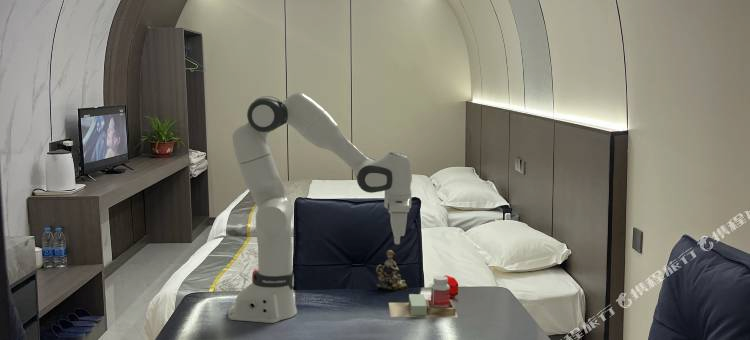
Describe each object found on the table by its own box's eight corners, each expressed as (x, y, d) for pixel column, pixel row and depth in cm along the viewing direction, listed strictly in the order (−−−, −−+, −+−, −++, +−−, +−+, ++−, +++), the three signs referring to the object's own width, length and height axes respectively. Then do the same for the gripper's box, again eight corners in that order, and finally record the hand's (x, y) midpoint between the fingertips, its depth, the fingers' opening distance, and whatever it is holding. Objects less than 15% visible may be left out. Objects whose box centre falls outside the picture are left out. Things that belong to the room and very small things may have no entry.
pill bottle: (452, 310, 225) (453, 278, 224) (438, 314, 222) (439, 281, 220) (441, 305, 230) (441, 274, 229) (426, 308, 227) (427, 276, 225)
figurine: (373, 293, 247) (373, 253, 245) (379, 284, 257) (380, 246, 255) (404, 295, 244) (405, 255, 242) (410, 287, 254) (410, 248, 252)
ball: (446, 303, 236) (447, 282, 235) (430, 297, 242) (430, 277, 241) (461, 298, 242) (462, 278, 241) (445, 293, 248) (445, 272, 247)
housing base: (390, 320, 219) (390, 310, 218) (388, 305, 233) (388, 297, 232) (457, 320, 219) (458, 311, 219) (452, 306, 233) (452, 297, 233)
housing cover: (411, 315, 220) (411, 305, 219) (408, 303, 232) (408, 294, 231) (426, 315, 220) (426, 306, 219) (423, 303, 232) (423, 294, 231)
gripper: (386, 196, 231) (386, 235, 233) (389, 207, 211) (388, 250, 212) (405, 196, 231) (404, 235, 233) (409, 208, 211) (408, 251, 213)
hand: (396, 243), depth 222 cm, fingers closed
